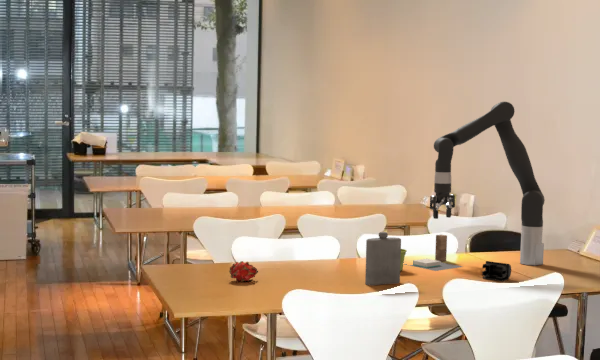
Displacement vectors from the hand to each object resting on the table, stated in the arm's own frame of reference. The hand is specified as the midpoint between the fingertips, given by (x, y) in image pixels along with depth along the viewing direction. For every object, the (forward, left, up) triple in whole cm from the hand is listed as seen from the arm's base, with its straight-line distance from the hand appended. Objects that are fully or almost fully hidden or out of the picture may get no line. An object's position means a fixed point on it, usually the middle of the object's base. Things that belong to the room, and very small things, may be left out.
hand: (442, 218), depth 376 cm
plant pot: (-4, +33, -20) cm, 39 cm away
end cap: (-40, +11, -20) cm, 46 cm away
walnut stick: (0, 0, -20) cm, 20 cm away
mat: (-5, +12, -20) cm, 24 cm away
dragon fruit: (+12, +100, -20) cm, 103 cm away
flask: (-21, +57, -20) cm, 64 cm away
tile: (-5, +10, -19) cm, 21 cm away
